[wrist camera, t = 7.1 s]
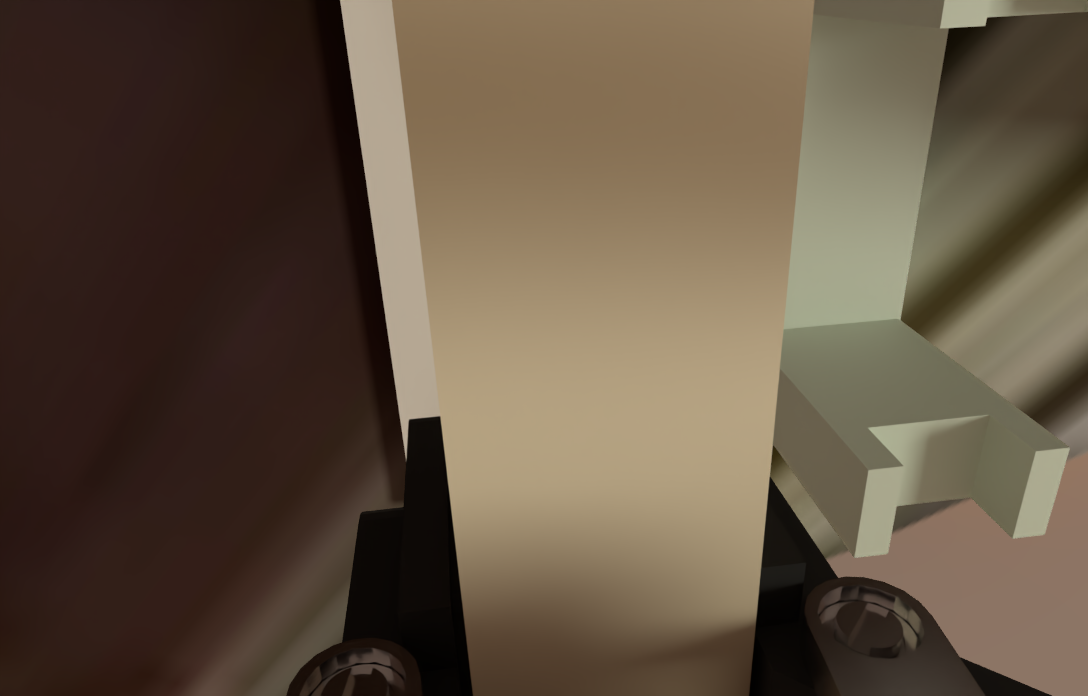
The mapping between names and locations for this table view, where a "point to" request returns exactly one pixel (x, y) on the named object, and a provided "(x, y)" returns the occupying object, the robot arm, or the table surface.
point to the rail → (606, 323)
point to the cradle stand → (888, 294)
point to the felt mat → (392, 202)
